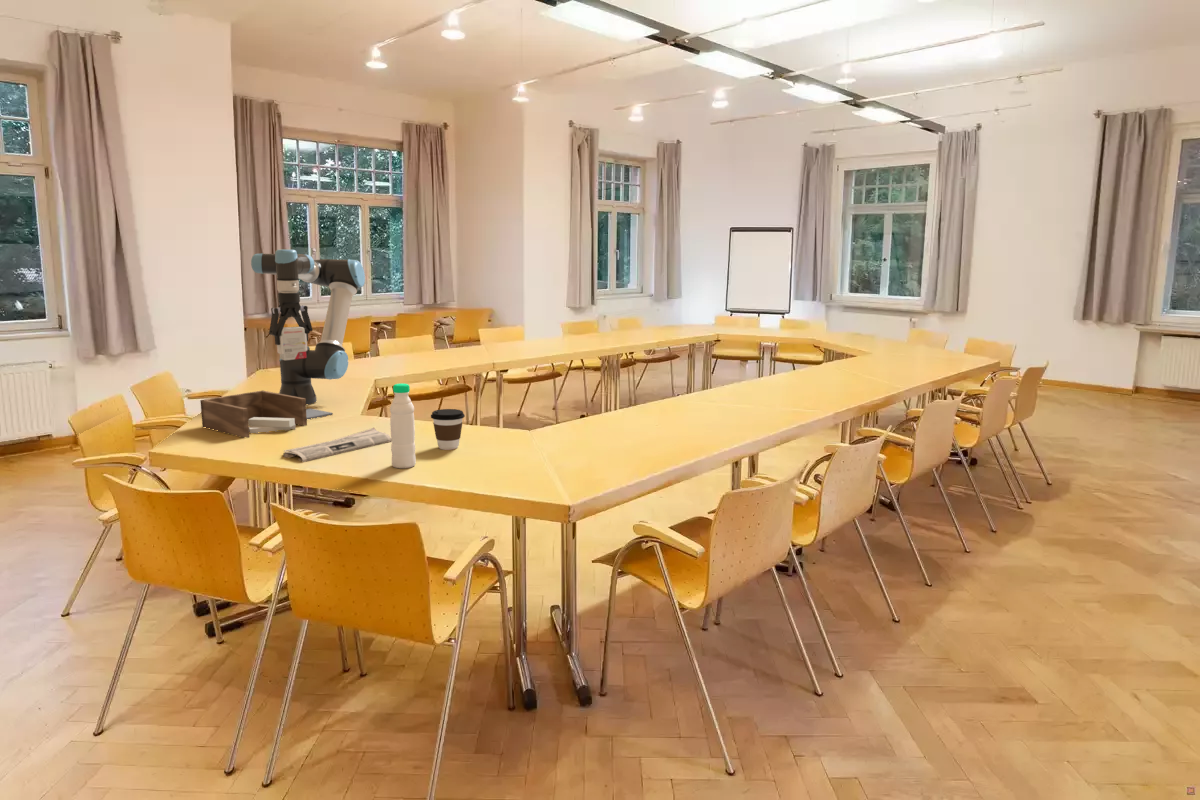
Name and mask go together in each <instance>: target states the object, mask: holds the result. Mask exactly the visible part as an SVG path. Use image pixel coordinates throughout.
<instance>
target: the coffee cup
mask: <svg viewBox="0 0 1200 800" xmlns="http://www.w3.org/2000/svg"><path fill="white" fill-rule="evenodd" d="M463 418H465V413H464V412H463V410H461V409H455V408H454V409H453V408H441V409H436V410H433V411H432V412H431V414H430V419H432V420H433V422H432V423H433V428H434V434H435V438H436V441H437V447H438V449H439V450H444V451H445V450H446V451H449V450H452V451H453V450H455V449H458V448H459V446H460V440H461V434H462V429H463Z"/></svg>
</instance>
